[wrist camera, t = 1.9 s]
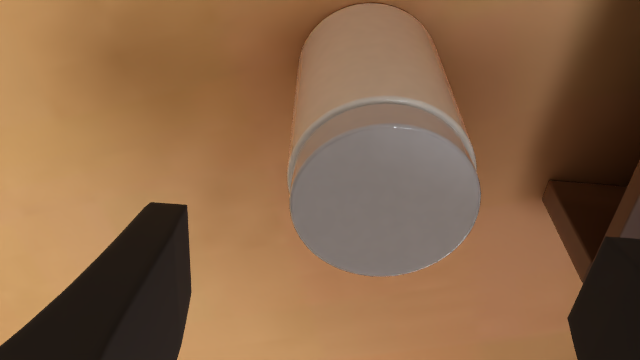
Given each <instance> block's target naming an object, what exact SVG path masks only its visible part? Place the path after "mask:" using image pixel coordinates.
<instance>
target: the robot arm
mask: <svg viewBox="0 0 640 360" xmlns="http://www.w3.org/2000/svg"><path fill="white" fill-rule="evenodd" d="M190 297H191V273H190V253H189V232H188V212H187V205H181V204H167V203H154V202H151V203H149V204H148V205H147V206H146V207H144V208H143V210H142V211H141V212H140V213H139V214H138V215H137V216H136V217H135V218H134V219H133V221H132V222H131V223H130V224H129V225H128V226H127V227H126V228H125V229H124V230H123V232H122V233H121V234H120V235H119V236H118V237H117V238H116V239H115V240H114V241H113V242H112V243H111V244H110V245H109V246H108V247H107V248H106V250H105V251H104V252H103V253H102V254H101V255H100V256H99V257H98V258H97V259H96V260H95V261H94V262H93V263H92V264H91V265H90V266H89V267H88V268H87V269H86V270H85V271H84V272H83V273H82V274H81V275H80V276H79V277H78V278H77V279H76V280H75V281H74V282H73V283H72V284H70V285H69V286H68V287H67V288H66V289H65V290H64V291H63V292H62V293H61V294H60V295H59V296H58V297H56V298H55V299H54V300H53V301H52V302H51V303H50V304H49V305H48V306H46V307H45V308H44V309H43V310H42V311H41V312H40V313H39V314H37V315H36V316H35V317H34V318H33V319H32V320H31V321H30V322H29V323H27V324H26V325H25V326H24V327H23V328H22V329H20V330H19V331H18V332H17V333H16V334H14V335H13V336H12V337H11V338H10V339H8V340H7V341H6V342H5V343H4V344H2V345H1V346H0V360H177V357H178V354H179V351H180V348H181V344H182V339H183V334H184V329H185V324H186V319H187V313H188V308H189V302H190ZM568 322H569V326H570V331H571V335H572V339H573V343H574V348H575V351H576V355H577V359H578V360H640V239H634V238H621V237H608V236H605V238H604V240H603V243H602V245H601V247H600V249H599V251H598V253H597V256H596V258H595V260H594V262H593V264H592V266H591V269H590V271H589V273H588V275H587V277H586V279H585V282H584V284H583V286H582V288H581V290H580V292H579V295H578V297H577V299H576V301H575V303H574V305H573V308H572V310H571V312H570V314H569V316H568Z"/></svg>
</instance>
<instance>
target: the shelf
mask: <svg viewBox="0 0 640 360" xmlns="http://www.w3.org/2000/svg"><path fill="white" fill-rule="evenodd" d="M542 201H543V203H544V205H545V207H546V209H547V211H548V213H549V215H550V217H551V219H552V221H553V223H554V225H555V227H556V229H557V232H558V234H559V236H560V238H561V240H562V242H563V244H564V246H565V248H566V250H567V252H568V254H569V256H570V258H571V260H572V262H573V264H574V267H575V269H576V271H577V273H578V275H579V277H580V279H581V281H582V282H583V284H584V282H585V279H586V277H587V275H588V273H589V271H590V269H591V266H592V264H593V262H594V260H595V258H596V256H597V253H598V251H599V249H600V247H601V245H602V243H603V240H604V238H605V236H608V237H621V238H634V239H640V160H639V162H638V165H637V167H636V169H635V171H634V173H633V175H632V178H631V180H630V182H629V184H628V186H627V187H625V186H612V185H600V184H587V183H575V182H562V181H549V182H548V184H547V187H546V190H545V193H544V195H543V198H542Z"/></svg>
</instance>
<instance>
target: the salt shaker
mask: <svg viewBox="0 0 640 360" xmlns="http://www.w3.org/2000/svg"><path fill="white" fill-rule="evenodd" d="M287 184H288V190H289V194H290V198H289V207H290V214H291V219H292V222H293V225H294V228H295V229H296V231H297V233H298V235H299V237H300V238H301V240H302V241H303V242H304V244H305V245H306V246H307V247H308V248H309V249H310V250H311V251H312V252H313V253H314V254H315V255H316V256H318V257H319V258H320V259H321V260H323V261H325V262H326V263H328V264H330V265H332V266H334V267H336V268H338V269H341V270H344V271H347V272H350V273H354V274H358V275H365V276H376V277H386V276H397V275H403V274H408V273H411V272H415V271H418V270H421V269H424V268H426V267H429V266H431V265H433V264H435V263H437V262H438V261H440V260H442V259H443V258H445V257H446V256H448V255H449V254H450V253H451V252H453V251H454V250H455V249H456V248H457V247H458V246H459V245H460V244H461V243H462V242H463V241H464V239H465V238H466V237H467V235H468V234H469V233H470V231H471V229H472V227H473V225H474V223H475V221H476V218H477V215H478V212H479V208H480V203H481V189H480V182H479V179H478V175H477V164H476V156H475V153H474V149H473V146H472V143H471V140H470V138H469V135H468V132H467V130H466V127H465V124H464V122H463V119H462V116H461V114H460V111H459V108H458V106H457V103H456V100H455V98H454V95H453V92H452V89H451V87H450V84H449V81H448V79H447V76H446V73H445V71H444V68H443V65H442V63H441V60H440V57H439V55H438V52H437V49H436V46H435V44H434V42H433V40H432V37H431V36H430V34H429V33H428V31H427V30H426V28H425V27H424V26H423V25H422V24H421V23H420V22H419V21H418V20H417V19H416V18H414V17H413V16H412V15H410V14H408V13H407V12H405V11H403V10H401V9H399V8H396V7H393V6H389V5H385V4H379V3H365V4H357V5H353V6H348V7H346V8H343V9H341V10H338V11H336V12H335V13H333V14H331V15H329V16H328V17H327V18H325V19H324V20H323V21H321V22H320V23H319V24H318V25H317V26H316V27H315V28H314V30H313V31H312V32H311V33H310V35H309V36H308V38H307V40H306V41H305V43H304V46H303V48H302V51H301V54H300V57H299V64H298V73H297V82H296V92H295V101H294V111H293V121H292V130H291V140H290V149H289V159H288V168H287Z"/></svg>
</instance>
